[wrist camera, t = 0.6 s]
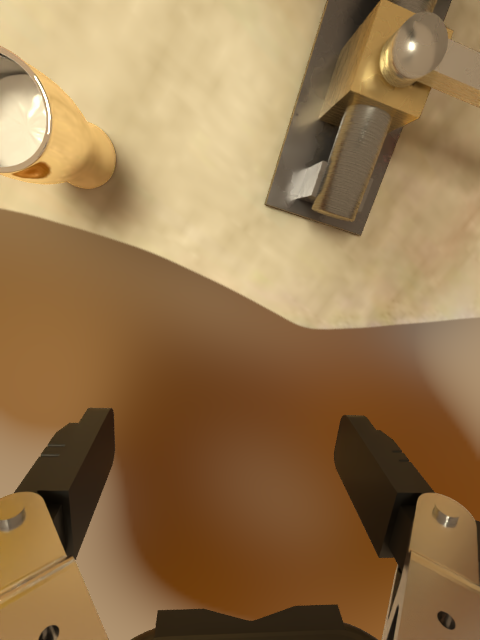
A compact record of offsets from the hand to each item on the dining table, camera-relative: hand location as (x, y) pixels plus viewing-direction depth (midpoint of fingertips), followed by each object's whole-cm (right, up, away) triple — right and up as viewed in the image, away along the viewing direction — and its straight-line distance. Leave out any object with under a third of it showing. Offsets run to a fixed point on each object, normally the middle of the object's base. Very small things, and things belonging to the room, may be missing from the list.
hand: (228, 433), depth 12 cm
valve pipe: (+12, +26, +22) cm, 36 cm away
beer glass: (-15, +20, +22) cm, 33 cm away
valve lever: (+18, +22, +14) cm, 32 cm away
